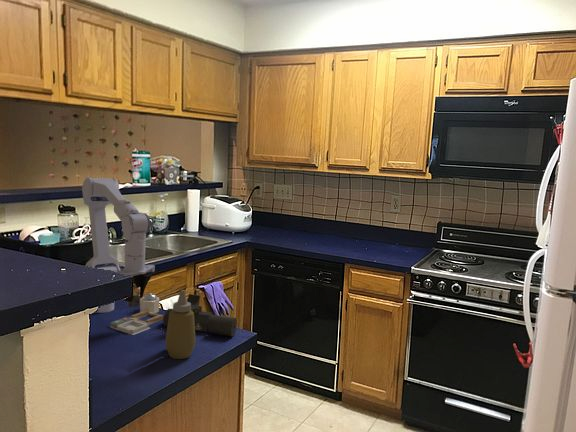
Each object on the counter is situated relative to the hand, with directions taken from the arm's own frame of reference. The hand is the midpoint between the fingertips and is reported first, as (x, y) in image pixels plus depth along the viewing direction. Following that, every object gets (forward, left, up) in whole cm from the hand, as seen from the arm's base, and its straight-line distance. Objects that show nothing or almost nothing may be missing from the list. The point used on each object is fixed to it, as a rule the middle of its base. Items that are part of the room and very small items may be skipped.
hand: (133, 299), depth 141 cm
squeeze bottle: (+22, -4, -10) cm, 25 cm away
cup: (-7, +14, -10) cm, 19 cm away
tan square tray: (-2, +8, -10) cm, 13 cm away
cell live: (0, 0, -2) cm, 2 cm away
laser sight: (+15, +12, -10) cm, 22 cm away
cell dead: (-7, +14, -9) cm, 18 cm away
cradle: (0, 0, -10) cm, 10 cm away
